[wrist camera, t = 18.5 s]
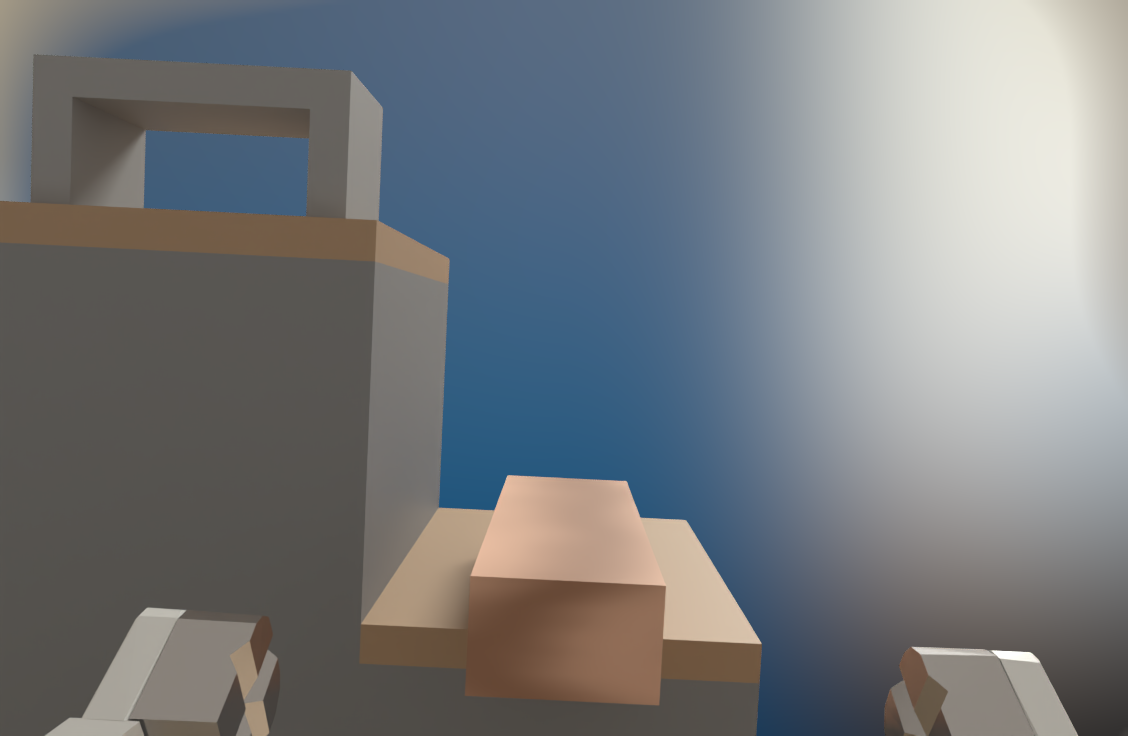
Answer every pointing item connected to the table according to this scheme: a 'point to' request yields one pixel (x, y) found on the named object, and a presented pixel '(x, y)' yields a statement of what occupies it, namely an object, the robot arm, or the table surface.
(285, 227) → the plant stand
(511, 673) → the terracotta bar
